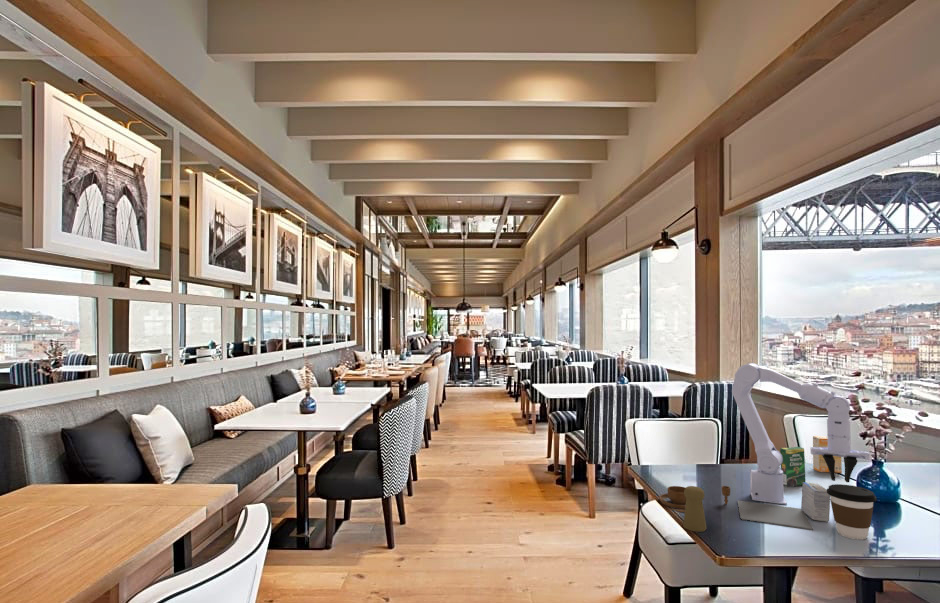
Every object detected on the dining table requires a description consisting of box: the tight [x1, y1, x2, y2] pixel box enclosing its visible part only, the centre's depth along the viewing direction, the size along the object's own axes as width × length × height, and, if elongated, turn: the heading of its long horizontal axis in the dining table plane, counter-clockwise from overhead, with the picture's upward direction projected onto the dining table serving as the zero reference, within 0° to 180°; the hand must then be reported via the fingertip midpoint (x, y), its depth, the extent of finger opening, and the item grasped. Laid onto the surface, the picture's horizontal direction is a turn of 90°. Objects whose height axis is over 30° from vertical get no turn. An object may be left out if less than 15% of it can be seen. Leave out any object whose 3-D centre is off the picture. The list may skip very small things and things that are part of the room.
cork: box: [682, 485, 707, 533], centre depth 143 cm, size 6×6×11 cm
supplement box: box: [812, 435, 843, 474], centre depth 200 cm, size 8×5×13 cm, turn 81°
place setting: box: [658, 485, 731, 514], centre depth 161 cm, size 18×20×6 cm
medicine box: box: [800, 481, 831, 523], centre depth 151 cm, size 8×4×9 cm, turn 168°
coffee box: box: [779, 446, 806, 488], centre depth 182 cm, size 8×3×13 cm, turn 101°
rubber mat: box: [737, 500, 814, 531], centre depth 153 cm, size 18×17×1 cm
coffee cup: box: [826, 483, 877, 541], centre depth 139 cm, size 11×11×12 cm
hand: (840, 480), depth 156 cm, fingers open, 3 cm apart
